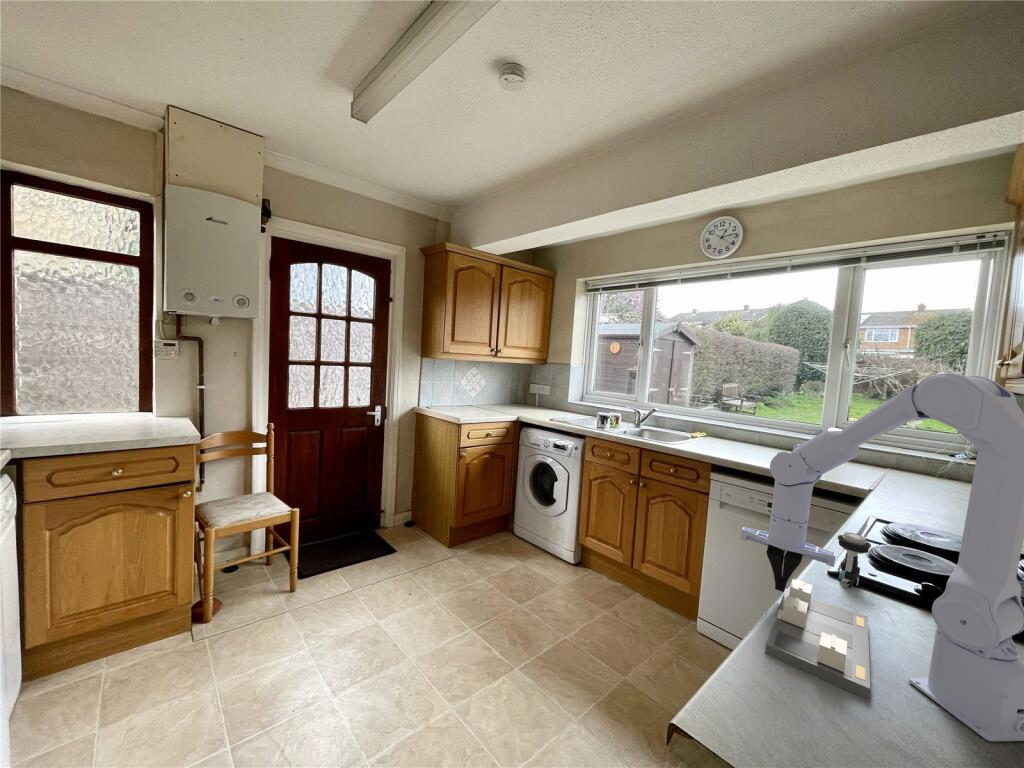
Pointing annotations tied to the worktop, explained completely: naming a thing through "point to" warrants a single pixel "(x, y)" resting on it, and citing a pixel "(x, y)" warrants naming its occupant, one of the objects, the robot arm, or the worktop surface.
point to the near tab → (832, 651)
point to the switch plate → (804, 644)
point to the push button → (852, 557)
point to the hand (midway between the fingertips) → (780, 588)
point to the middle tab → (795, 611)
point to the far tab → (801, 591)
